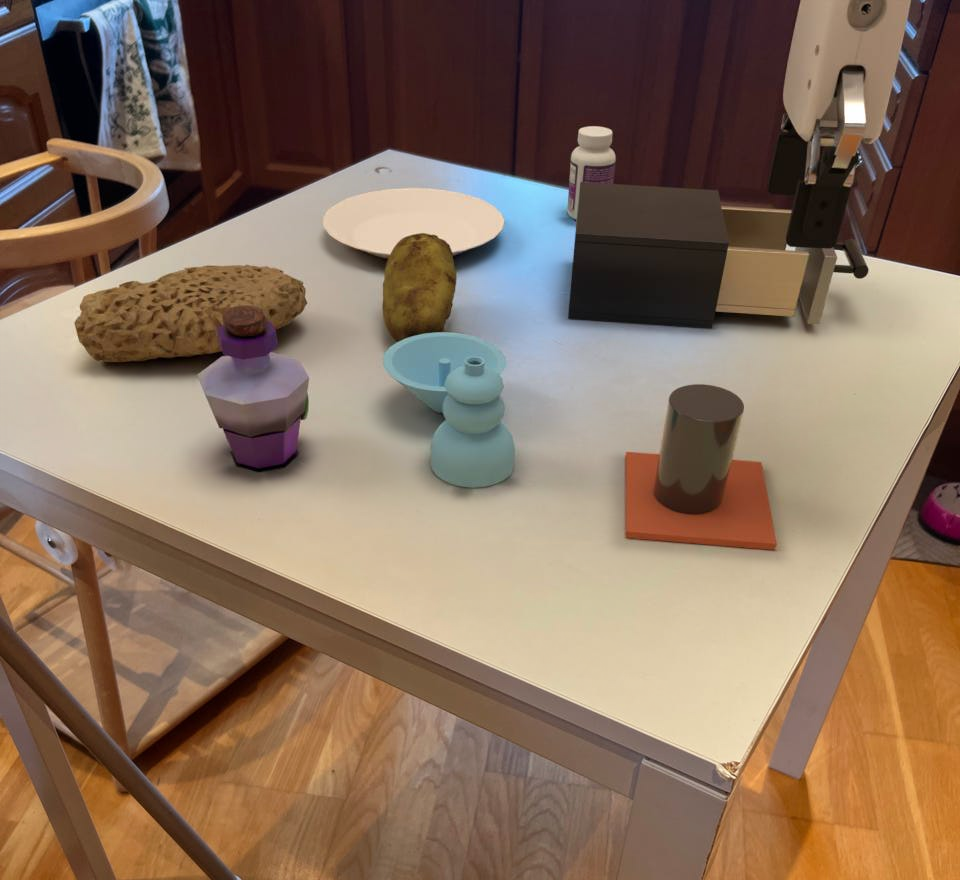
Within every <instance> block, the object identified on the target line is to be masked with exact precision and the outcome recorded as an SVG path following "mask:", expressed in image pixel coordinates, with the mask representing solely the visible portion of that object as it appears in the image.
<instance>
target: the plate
mask: <svg viewBox="0 0 960 880" xmlns="http://www.w3.org/2000/svg"><path fill="white" fill-rule="evenodd" d="M505 222H506V221H505V219H504V216H503V214H502V212H501V211H500V210H499V209H498V208H497V207H496V206H494V205H493V204H491V203H489V202H487V201H486V200H484V199H482V198H479V197H476V196H472V195H469V194H466V193H462V192H457V191H452V190H447V189H438V188H430V187H429V188H427V187H403V188H387V189H381V190H380V189H379V190H375V191H368V192H364V193H361V194H356V195H353V196H350V197H347V198H346V199H342V200H341V201H339V202H337V203H336V204H334V205H332V207H330V208H329V209H327V210H326V213H325V214H324V215H323V217H322V226H323V229H324V230H325V231H326V232H327V234H328V235H329V236H330V237H332V239H334V240H336V241H337V242H339V243H341V244H343V245H346V246H348V247H351V248H353V249H356V250H359V251H362V252H365V253H367V254H369V255H372V256H375V257H378V258H381V259H387V260H388V258H389V256H390V254H391V252H392V250H393V248H394V247H395V245H396V244H397V243H398V242H399V241H400V240H401V239H403V238H404V237H407V236H410V235H413V234H420V233H426V234H430V235H436V236H438V238H440V239H443V240H445V241H446V242H447V243H448V244H449V245H450V248H451V251H452V254H453V257H454V256H456V255H459V254H462V253H463V254H464V252H466V251H469V250H471V249H474V248H475V249H476V248H478V247H480V246H483V245H486V244H487V243H489V242H491V241H492V240H494V239H496V238H497V236H498V235H500V233H501V232H503V230H504V226H505Z"/></svg>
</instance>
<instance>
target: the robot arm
mask: <svg viewBox="0 0 960 880" xmlns="http://www.w3.org/2000/svg"><path fill="white" fill-rule="evenodd" d="M911 2H912V0H800V2H799V6H798V10H797V14H796V15H797V16H796V19H795V25H794V29H793V34H792V39H791V44H790V48H789V53H788V58H787V65H786V70H785V78H784V83H783V90H782V91H783V92H782V102H783V106H784V112H783V115H782V118H781V124H780V125H781V126H780V131H781V132H778V133H777V137H776V141H775V142H776V143H775V147H774V152H773V156H772V162H771V167H770V172H769V176H768V182H767V186H766V187H767V191H768V193H769V194H770V195H779V196H794V199H793V204H792V208H791V210H792V212H791V216H790V221H789V225H788V229H787V234H786V242H787V246H788V247H789V248H796V247H805V248H826V249H830V248H833V247H834V246H835V245H836V243H837V242H838V239H839V235H840V231H841V227H842V225H843V220H844V216H845V212H846V209H847V204H848V201H849V197H850V193H851V189H852V186H853V183H854V180H855V179H854V178H855V174H856V165H857V164H858V162H859V159H860V157H859V156H860V153H859V152H858V149H859V147H860V144H861V142H862V143H863V144H865V145H872V144H874V143H875V142H876V141H877V140H878V139H879V137H880V136H881V135H882V131H883V127H884V123H885V118H886V115H887V110H888V105H889V101H890V97H891V93H892V89H893V84H894V80H895V75H896V72H897V67H898V64H899V59H900V55H901V49H902V46H903V41H904V36H905V32H906V27H907V23H908V17H909V13H910V8H911ZM824 147H826V149H825V150H824Z"/></svg>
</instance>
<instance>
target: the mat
mask: <svg viewBox="0 0 960 880" xmlns="http://www.w3.org/2000/svg"><path fill="white" fill-rule="evenodd" d="M658 458H659V453H650V452H637V451H636V452H635V451H626V452H625V460H624V461H625V462H624V465H625V467H624V468H625V469H624V470H625V538H627V539H635V540H636V539H637V540H638V539H639V540H649V541H650V540H651V541H660V542H661V541H662V542H674V543H685V544H686V543H687V544H699V545H711V546H721V547H722V546H724V547H735V548H747V549H757V550H758V549H759V550H772V551H775V550H776V548H777V545H778V544H777V543H778V542H777V538H776V533H775V528H774V523H773V521H774V520H773V517H772V511H771V507H770V501H769V496H768V495H769V494H768V491H767V485H766V480H765V474H764V469H763V463H762V461H753V460H740V459H739V460H738V459H732V463H731V467H730V471H729V476H728V480H727V484H726V488H725V493H724V497H723V501H722V503H721V505H720V506H719V507H718V508H717V509H715V510H713V511H711V512H708V513H704V514H684V513H679V512H676V511H673V510H671V509H668V508H666V507H665V506H663V505H662V504H661V503H659V502H658V501H657V499H656V498H655V496H654V493H653V487H654V481H655V475H656V470H657V464H658Z"/></svg>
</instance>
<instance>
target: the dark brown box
mask: <svg viewBox="0 0 960 880" xmlns="http://www.w3.org/2000/svg"><path fill="white" fill-rule="evenodd" d="M721 206H722V202H721V199H720V194H719V190H717V189H705V188H703V189H701V188H687V187H686V188H683V187H671V186H669V187H667V186H651V185H636V184H635V185H634V184H618V183H613V184H603V183H586V182H580V191H579V201H578V212H577V220H576V224H575V233H574V247H573V257H572V269H571V279H570V288H569V289H570V290H569V303H568V313H567V319H568V320H581V321H596V322H597V321H598V322H612V323H624V324H625V323H627V324H640V325H656V326H670V327H683V328H685V327H686V328H698V329H713V326H714V321H715V317H716V307H717V302H718V297H719V292H720V287H721V281H722V276H723V271H724V266H725V261H726V256H727V250H728V246H729V241H728V237H727V232H726V227H725V222H724V217H723V212H722V208H721Z"/></svg>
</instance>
